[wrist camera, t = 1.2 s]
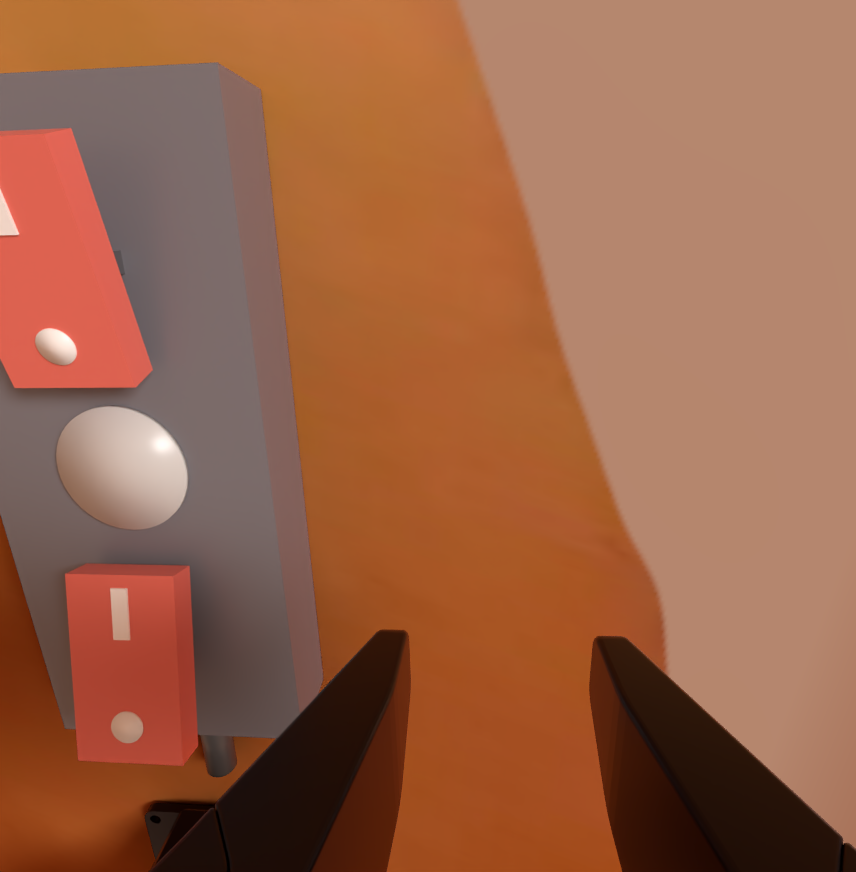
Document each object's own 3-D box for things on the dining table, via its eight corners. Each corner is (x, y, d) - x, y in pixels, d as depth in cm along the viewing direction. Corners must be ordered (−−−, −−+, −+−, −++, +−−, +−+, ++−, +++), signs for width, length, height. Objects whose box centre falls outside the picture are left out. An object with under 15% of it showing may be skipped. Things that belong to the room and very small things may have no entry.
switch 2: (198, 745, 19) (182, 767, 18) (98, 741, 19) (76, 762, 18) (189, 565, 19) (172, 576, 17) (86, 563, 19) (63, 574, 18)
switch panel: (331, 753, 25) (309, 835, 22) (130, 744, 26) (79, 821, 23) (260, 88, 17) (206, 55, 13) (-34, 103, 18) (-156, 74, 14)
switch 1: (152, 370, 16) (134, 388, 16) (37, 370, 17) (12, 389, 16) (71, 128, 13) (42, 134, 12) (-72, 133, 13) (-110, 140, 12)
